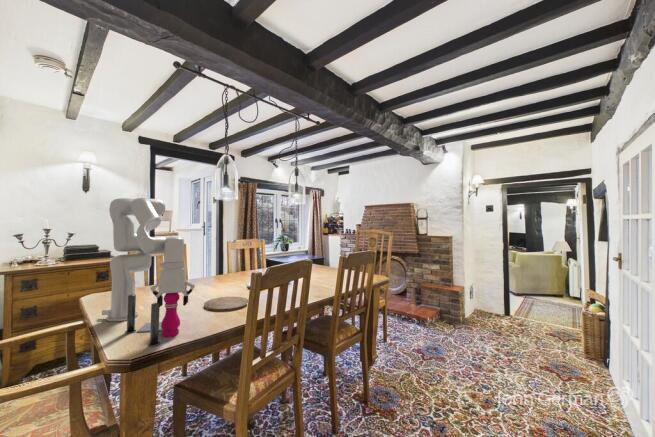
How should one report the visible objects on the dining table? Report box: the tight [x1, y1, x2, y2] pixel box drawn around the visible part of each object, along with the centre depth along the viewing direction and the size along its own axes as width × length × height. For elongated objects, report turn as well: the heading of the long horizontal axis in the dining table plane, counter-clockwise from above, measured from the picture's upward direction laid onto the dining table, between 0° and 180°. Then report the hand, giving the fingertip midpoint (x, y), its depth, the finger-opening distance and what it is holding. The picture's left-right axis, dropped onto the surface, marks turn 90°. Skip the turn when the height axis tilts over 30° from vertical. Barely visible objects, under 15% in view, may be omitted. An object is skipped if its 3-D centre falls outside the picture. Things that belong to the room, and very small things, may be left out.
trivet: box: [203, 296, 249, 312], centre depth 161 cm, size 25×25×2 cm
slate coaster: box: [136, 321, 163, 333], centre depth 125 cm, size 10×10×1 cm
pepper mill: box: [161, 293, 181, 338], centre depth 118 cm, size 7×7×20 cm
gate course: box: [124, 293, 161, 347], centre depth 115 cm, size 20×22×16 cm
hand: (172, 305), depth 117 cm, fingers open, 9 cm apart
